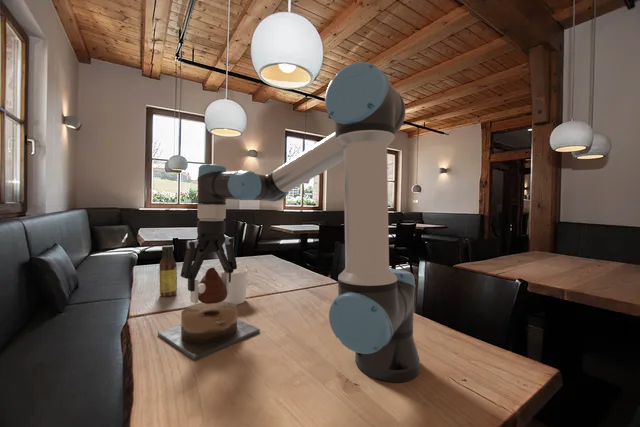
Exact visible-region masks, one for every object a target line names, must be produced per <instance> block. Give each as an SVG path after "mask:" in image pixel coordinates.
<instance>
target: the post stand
mask: <svg viewBox="0 0 640 427" xmlns="http://www.w3.org/2000/svg"><path fill="white" fill-rule="evenodd" d="M180 315H181V316H180V321H181V322H180V323H181V324H178V325H175V326H173V327H170V328H167V329H162V330H160V331H157V336H158V337H159V338H161V339H162V340H164V341H165V342H167V343H168V344H169V345H171V346H172V347H173V348H175V349H176V350H178V351H179V352H181V353H183V354H184V355H185V356H187V357H188V358H190V359H192V360H193V361H197V360H199V359H200V360H201V359H202V358H203V357H206V356H208V355H211V354H213V353H215V352H218V351H220V350H222V349H225V348H227V347H230V346H232V345H234V344H236V343H238V342H241V341H243V340H245V339H248V338H249V337H250V338H251V337H252V336H255V335H257V334H259V333H260V332H261V329H260V328H258V327H256V326H254V325H251V324H250V323H247V322H244V321H243V320H240V319H238V305H235V304H233V303H230V302H225V301H222V302H219V303H213V304H205V303H202V302H198V303H196V304H195V303H193V305H190V306H188V307H186V308H184V309H183V310H182V311H181V314H180Z"/></svg>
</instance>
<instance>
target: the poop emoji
mask: <svg viewBox="0 0 640 427" xmlns="http://www.w3.org/2000/svg"><path fill="white" fill-rule="evenodd" d="M226 297H227V289H226V288H225V285H224V282H223V281H222V278H221V276H220V274H219V273H218V271H217V270H216V269H215V267H210V268H208V269H207V270H206V272H205V275H203V277H202V279H201V280H199V283H198V302H199V303H205V304H213V303H219V302H222V301H224V300H225V299H226Z"/></svg>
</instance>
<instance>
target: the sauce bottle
mask: <svg viewBox="0 0 640 427" xmlns="http://www.w3.org/2000/svg"><path fill="white" fill-rule="evenodd" d="M161 251H162V255H161V256H162V258H161V260H160V261H159V270H158V271H159V272H158V274H159V276H158V277H159V295H160V296H161V297H163V298H164V297H165V298H166V297H167V298H168V297H172V296H175V295H176V294H177V292H178V280H177V279H178V272H177V268H178V267H177V266H178V265H177V262H176V261H175V258H174V245H163V246H161Z"/></svg>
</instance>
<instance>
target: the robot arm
mask: <svg viewBox="0 0 640 427" xmlns="http://www.w3.org/2000/svg"><path fill="white" fill-rule="evenodd" d="M324 97H325V98H324V103H325V104H324V105H325V109H326V112H327V113H328V115H329V117H330V119H331V120H333V121H334V123H335V124H334V125H335V127H334V128H335V131H334V132H332V133H331V134H329V135H328V136H327V137H325V138H323V139H321V140H320V141H318V142H317V143H315V144H314V145H311V147H309V148H307V149H305V150H304V151H302V152H301V153H299V154H298V155H296V156H295V157H293V158H291V159H290V160H288V161H287V162H285V163H283V164H282V165H280V166H279V167H277V168H276V169H275V170H273V171H271V172H268V174H265V175H264V174H259V173H255V171H252V170H236V171H235V170H233V171H227V168H226V166H224V165H220V164H211V163H210V164H206V163H204V164H201V165H200V166H199V167H198V173H197V219H199V220H197V222H196V224H197V225H196V226H197V227H196V228H197V229H196V232H197V237H196V239H194V240H186V241H185V248H186V250H185V254H184V258H183V261H182V262H183V263H182V267H181V271H180V277H181V278H184V279H186V280H187V290H188V291H189V292H190V296H189V298H190V302H191V303H193V304H198V303H199V300H198V283H199V281H200V280H199V278H197V275H198V274H199V271H200V269H201V267H202V265H203V262H204V261H205V258H206V257H207V256H208V254H211V253H215V255H217V259H218V260H219V262H220V265H221V267H222V270H224V271H225V272H222V273H221V272H220V274H221V276H220V277H221V278H222V281H223V282H224V285H225V288H226V289H227V295H229V283H230V282H231V273H233V271H234V269H237V268H238V265H237V258H236V253H235V249H234V248H235V247H234V242H235V238H234V237H229V236H228V237H226V235H225V233H226V220H224V219H226V218H227V217H226V213H227V211H226V208H227V206H226V205H227V203H226V202H227V200H239V201H266V202H278V201H283V200H284V199H286V197H287V196H288V194H289V192H290V191H293V189H296V188H298V187H300V186H301V185H303V184H305V183H307V182H308V181H309V180H312V179H313V178H316V177H318V176H319V175H322V174H323V173H325V172H326V171H328V170H330V169H332V168H333V167H335V166H337V165H339V164H341V163H342V162H343V190H344V191H343V197H344V198H343V201H344V202H343V203H344V254H345V255H344V256H345V257H344V259H345V262H344V263H345V266H344V269H343V270H342V272H340V273H339V274H338V277H337V287H338V288H337V289H338V291H337V292H338V295H337V297H336V298H334V300H333V301H332V302H331V304H330V306H329V311H328V312H329V313H328V320H329V324H330V329H331V330H332V332H333V335H334V336H335V337H336V339H338V340H339V341H340V342H341V344H342V345H343V346H344V347H345V348H347V349H348V350H350V351H352V352H355V358H354V359H355V361H354V362H355V365H356V366H357V368H358V369H359V370H360V371H361V372H362V373H364V374H365V375H367V376H369V377H371V378H373V379H375V380H379V381H384V382H389V383H403V382H408V381H411V380H413V379H415V378H417V376H418V375H419V373H420V369H421V368H420V366H421V364H420V356H419V352H418V349H417V345H416V343H415V339H414V317H415V316H414V313H415V310H414V309H415V290H416V284H415V283H416V281H415V280H416V279H415V275H414V274H413V273H412V272H410V271H407V270H402V269H396V268H391V267H390V252H389V251H390V246H389V244H390V243H389V242H390V241H389V197H388V196H389V193H388V192H389V191H388V189H389V188H388V185H389V184H388V147H389V145H390V144H391V143H393V141H394V140H395V138H396V136H395V135H396V134H397V133H398V132H399V131H400V130H401V128H402V126H403V124H404V121H405V118H406V104H405V101H404V98H403V97H402V95H401V94H400V93H399V92H398V90H396V88H395V87H394V86H393V84H392V82H390V80H389V79H388V76H387V75H386V73H385V72H384V71H383V70H381V69H380V68H379V67H377V65H375V64H373V63H370V62H367V61H357V62H353V63H349V64H347V65H346V66H345V67H343V68H341V69H340V70H339V71H338V72H336V75H335V76H334V77H333V78H332V79H331V80H330V82H329V83H328V87H327V88H326V91H325V96H324ZM223 245H224V246H225V247H223ZM197 246H198V249H197V251H196V248H197ZM224 248H225V249H224ZM225 252H226V254H225ZM195 253H196V256H195Z"/></svg>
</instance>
